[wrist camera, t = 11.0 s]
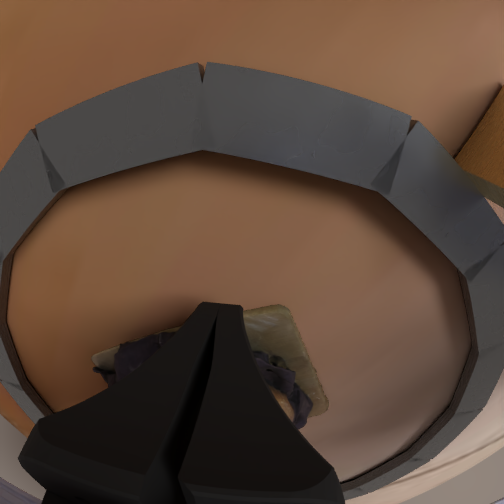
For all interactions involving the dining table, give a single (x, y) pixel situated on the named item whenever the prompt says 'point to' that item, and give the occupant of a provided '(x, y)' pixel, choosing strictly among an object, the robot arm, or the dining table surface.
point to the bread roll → (266, 354)
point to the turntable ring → (296, 157)
